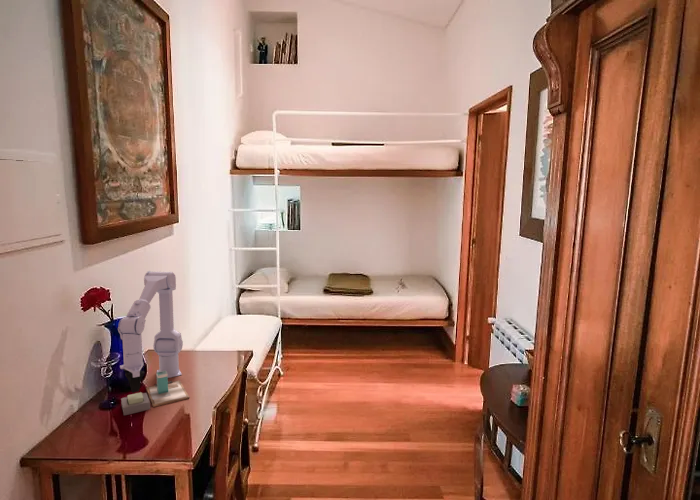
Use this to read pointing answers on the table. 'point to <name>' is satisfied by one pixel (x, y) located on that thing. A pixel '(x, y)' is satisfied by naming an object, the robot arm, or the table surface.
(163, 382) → the teal rimmed box
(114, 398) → the table surface
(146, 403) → the button housing
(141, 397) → the button
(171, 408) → the table surface
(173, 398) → the clipboard
